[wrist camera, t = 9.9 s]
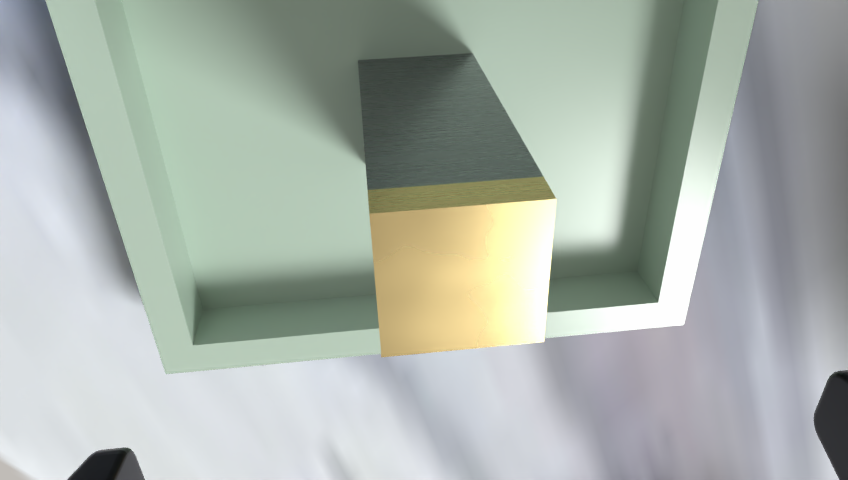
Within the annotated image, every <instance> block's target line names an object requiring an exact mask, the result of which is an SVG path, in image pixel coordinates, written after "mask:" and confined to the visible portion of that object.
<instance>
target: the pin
mask: <svg viewBox="0 0 848 480" xmlns="http://www.w3.org/2000/svg"><path fill="white" fill-rule="evenodd" d="M358 70H359V84H360V97H361V110H362V124H363V137H364V150H365V163H366V177H367V190H368V203H369V216H370V228H371V240H372V252H373V263H374V275H375V287H376V299H377V310H378V322H379V334H380V346H381V357H389V356H400V355H410V354H421V353H431V352H442V351H452V350H463V349H473V348H484V347H494V346H505V345H515V344H526V343H536V342H544V336H545V324H546V313H547V301H548V290H549V279H550V267H551V256H552V244H553V233H554V221H555V210H556V197H555V196H554V194H553V192H552V190H551V189H550V187H549V185H548V183H547V182H546V180H545V178H544V176H543V175H542V173H541V171H540V169H539V168H538V166H537V164H536V162H535V161H534V159H533V157H532V156H531V154H530V152H529V150H528V149H527V147H526V145H525V143H524V142H523V140H522V138H521V136H520V135H519V133H518V131H517V129H516V128H515V126H514V124H513V122H512V121H511V119H510V117H509V116H508V114H507V112H506V110H505V109H504V107H503V105H502V103H501V102H500V100H499V98H498V96H497V95H496V93H495V91H494V89H493V88H492V86H491V84H490V82H489V81H488V79H487V77H486V75H485V74H484V72H483V70H482V69H481V67H480V65H479V63H478V62H477V60H476V58H475V56H474V55H473V53H465V54H449V55H433V56H417V57H400V58H384V59H368V60H358Z"/></svg>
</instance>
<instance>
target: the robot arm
mask: <svg viewBox="0 0 848 480" xmlns="http://www.w3.org/2000/svg"><path fill="white" fill-rule="evenodd" d="M814 426H815V430H816V433H817V435H818V437H819V439H820V441H821V443H822V445H823V447H824V449H825V451H826V453H827V455H828V457H829V459H830V461H831V464H832V466H833V468H834V470H835V472H836V474H837V476H838V478H839V480H848V370H845V371H837V372H834V373H833V374H832V375H831V376H830V377H829V379H828V381H827V383H826V386H825V388H824V391H823V393H822V396H821V398H820V401H819V403H818V405H817V408H816V410H815V413H814ZM67 480H145V479H144V476H143V474H142V471H141V469H140V466H139V463H138V461H137V458H136V456H135V454H134V452H133V451H132V450H131V449H129V448H115V449H106V450H99V451H96V452H94V453H93V454H92V455H90V456H89V457H88V458H87V459H86V460H85V461H84V462H83V463H82V464H81V466H80V467H79V468H78V469H77V470H76V471H75V472H74V473H73V474H72V475H71V476H70V477H69V478H68V479H67Z"/></svg>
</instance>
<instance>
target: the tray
mask: <svg viewBox="0 0 848 480" xmlns="http://www.w3.org/2000/svg"><path fill="white" fill-rule="evenodd" d="M45 1H46V4H47V7H48V10H49V13H50V16H51V19H52V22H53V25H54V29H55V32H56V35H57V38H58V41H59V44H60V47H61V50H62V53H63V57H64V60H65V63H66V66H67V69H68V72H69V75H70V78H71V81H72V84H73V88H74V91H75V94H76V97H77V100H78V103H79V106H80V109H81V112H82V115H83V119H84V122H85V125H86V128H87V131H88V134H89V137H90V140H91V143H92V147H93V150H94V153H95V156H96V159H97V162H98V165H99V168H100V171H101V174H102V178H103V181H104V184H105V187H106V190H107V193H108V196H109V199H110V202H111V205H112V209H113V212H114V215H115V218H116V221H117V224H118V227H119V230H120V233H121V237H122V240H123V243H124V246H125V249H126V252H127V255H128V258H129V261H130V264H131V268H132V271H133V274H134V277H135V280H136V283H137V286H138V289H139V292H140V295H141V299H142V302H143V305H144V308H145V311H146V314H147V317H148V320H149V323H150V327H151V330H152V333H153V336H154V339H155V342H156V345H157V348H158V351H159V354H160V358H161V361H162V364H163V367H164V370H165V373H166V374H173V373H184V372H194V371H205V370H215V369H226V368H236V367H247V366H257V365H268V364H278V363H289V362H299V361H310V360H320V359H331V358H341V357H352V356H362V355H373V354H381V346H380V334H379V322H378V310H377V299H376V287H375V275H374V263H373V252H372V240H371V228H370V216H369V203H368V190H367V177H366V163H365V150H364V137H363V124H362V110H361V97H360V84H359V70H358V60H368V59H384V58H400V57H417V56H433V55H449V54H465V53H473V55H474V56H475V58H476V60H477V62H478V63H479V65H480V67H481V69H482V70H483V72H484V74H485V75H486V77H487V79H488V81H489V82H490V84H491V86H492V88H493V89H494V91H495V93H496V95H497V96H498V98H499V100H500V102H501V103H502V105H503V107H504V109H505V110H506V112H507V114H508V116H509V117H510V119H511V121H512V122H513V124H514V126H515V128H516V129H517V131H518V133H519V135H520V136H521V138H522V140H523V142H524V143H525V145H526V147H527V149H528V150H529V152H530V154H531V156H532V157H533V159H534V161H535V162H536V164H537V166H538V168H539V169H540V171H541V173H542V175H543V176H544V178H545V180H546V182H547V183H548V185H549V187H550V189H551V190H552V192H553V194H554V196H555V197H556V210H555V221H554V233H553V244H552V256H551V267H550V279H549V290H548V301H547V313H546V324H545V336H544V338H552V337H562V336H573V335H583V334H594V333H604V332H615V331H625V330H636V329H646V328H657V327H668V326H678V325H684V322H685V318H686V314H687V309H688V305H689V300H690V296H691V292H692V287H693V283H694V279H695V274H696V270H697V266H698V261H699V257H700V253H701V248H702V244H703V240H704V235H705V231H706V227H707V222H708V218H709V214H710V209H711V205H712V201H713V196H714V192H715V188H716V183H717V179H718V174H719V170H720V166H721V161H722V157H723V153H724V148H725V144H726V140H727V135H728V131H729V127H730V122H731V118H732V114H733V109H734V105H735V101H736V96H737V92H738V88H739V83H740V79H741V75H742V70H743V66H744V61H745V57H746V53H747V48H748V44H749V40H750V35H751V31H752V27H753V22H754V18H755V14H756V9H757V5H758V1H759V0H45Z"/></svg>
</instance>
